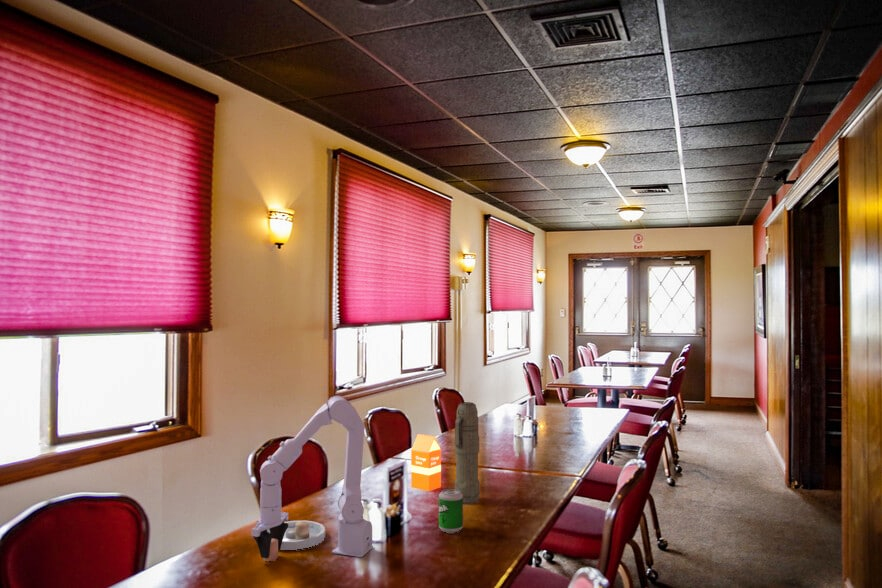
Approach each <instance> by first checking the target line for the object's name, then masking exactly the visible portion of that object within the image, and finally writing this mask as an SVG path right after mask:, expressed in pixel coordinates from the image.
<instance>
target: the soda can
mask: <svg viewBox="0 0 882 588" xmlns="http://www.w3.org/2000/svg"><path fill="white" fill-rule="evenodd" d="M463 525H464V504H463V495H462V493H461V492H460V491H459V490H456V489H455V488H446V489H443V490H441V491H440V493H439V494H438V528H439V529H440V530H441V532H442V531H443V533H444V532H446V533H445V534H455V533H454V532H457V533H459V532H460V531H461V530H462V529H463ZM459 530H460V531H459ZM458 531H459V532H458Z"/></svg>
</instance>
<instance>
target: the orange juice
mask: <svg viewBox="0 0 882 588" xmlns="http://www.w3.org/2000/svg"><path fill="white" fill-rule="evenodd" d="M410 457H411V460H410V461H411V462H410V463H411V464H410V465H411V466H410V468H411V469H410V472H411V475H410V476H411V478H410V479H411V481H410V485H411V487H410V488H413V489H417V490H422V491H427V492H431V491H434V490H436V489H439V488H441V487H442V449H441V447H440V444H439V442H438V441H437V438H436V436H433V435H427V434H421V433H418V434H417V435H416V438H415V440H414V443H413V445H412V448H411V456H410Z"/></svg>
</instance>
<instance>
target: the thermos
mask: <svg viewBox="0 0 882 588" xmlns="http://www.w3.org/2000/svg"><path fill="white" fill-rule="evenodd" d="M478 413H479V411H478V408H477V405H476V403H474V402H472V401H471V402H470V401H468V402H466V401H465V402H460V403H458V405H457V409H456V418H455V422H454V427H455V428H454V435H455V436H454V451H455V456H456V458H455V459H456V460H455V467H456V469H455V471H456V472H455V473H456V475H455V480H454V489H456V490H459V491H460V492H461V493H462V495H463V505H472V504H471V503H475V504H478V503H479V502H480V494H481V493H480V488H481V487H480V480H479V454H480V435H479V416H478ZM478 501H479V502H478ZM477 502H478V503H477Z"/></svg>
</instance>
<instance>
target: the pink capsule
mask: <svg viewBox="0 0 882 588" xmlns="http://www.w3.org/2000/svg"><path fill="white" fill-rule="evenodd" d="M277 558H278V559H279V551H278V539H275V538H272V540H271V544H270V554H269V558H262V560H264V561H263V562H265V561H267V562H266V563H270V562H269V561H273V562H275V561H274V560H276V559H277ZM276 561H277V560H276Z"/></svg>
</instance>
